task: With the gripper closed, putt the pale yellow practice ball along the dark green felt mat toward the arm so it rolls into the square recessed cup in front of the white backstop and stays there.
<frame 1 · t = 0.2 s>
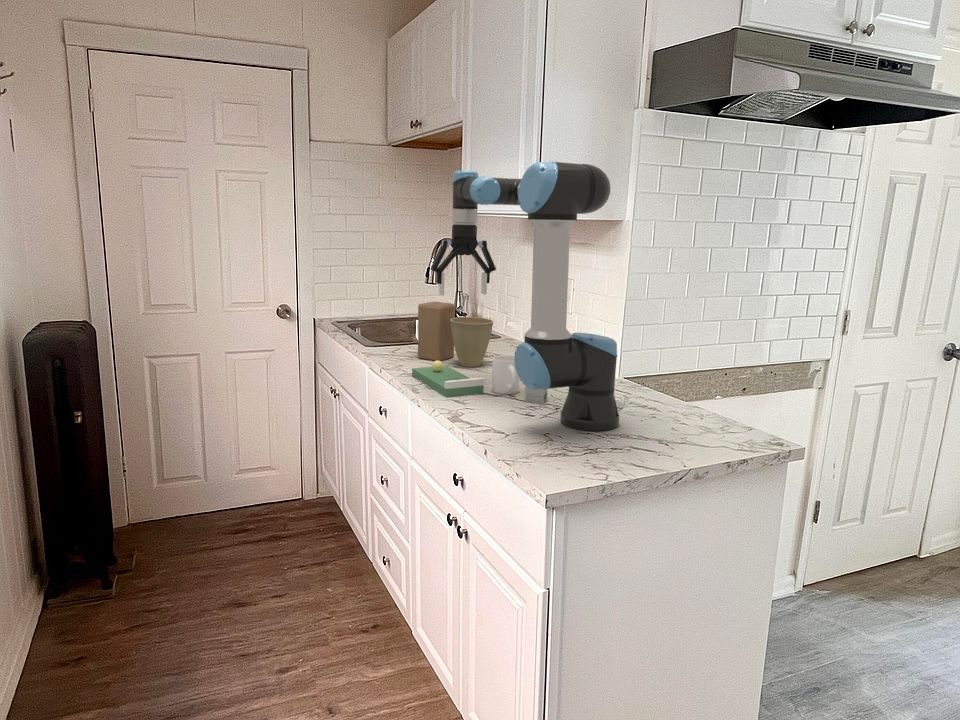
hand: (462, 294, 213), 28 cm above the worktop, fingers open, 13 cm apart
small box: (535, 401, 201), on the worktop
plant pot: (470, 365, 244), on the worktop
ball: (437, 366, 222), point 4 cm above the worktop, touching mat
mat: (446, 384, 217), on the worktop
mug: (507, 393, 208), on the worktop
wooden block: (436, 358, 254), on the worktop
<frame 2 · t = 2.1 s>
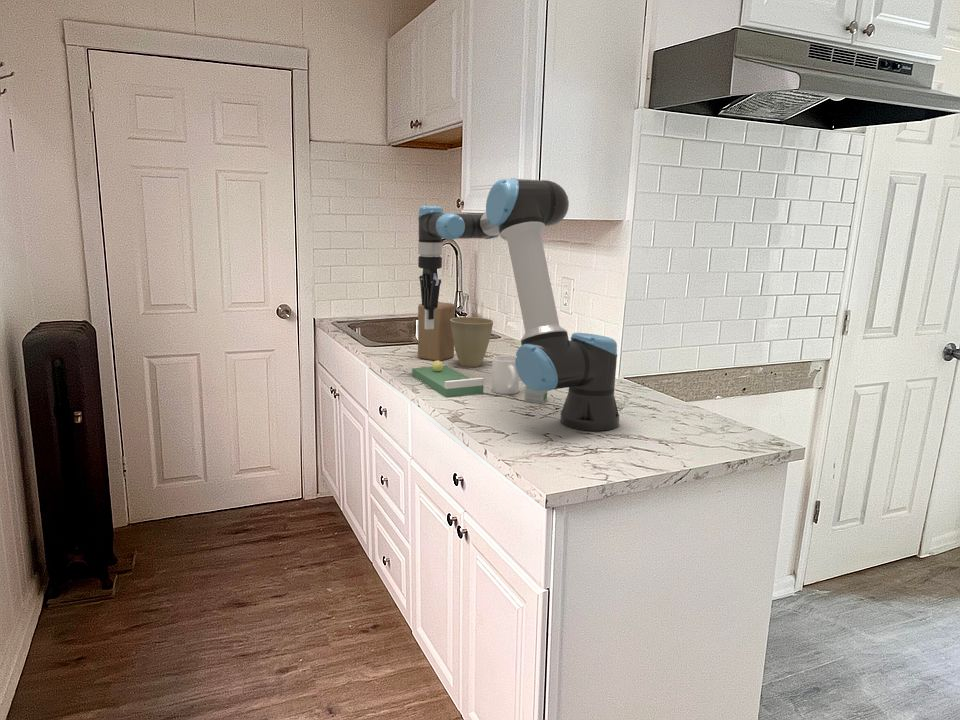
hand: (429, 328, 226), 15 cm above the worktop, fingers closed
nothing on the worktop moved.
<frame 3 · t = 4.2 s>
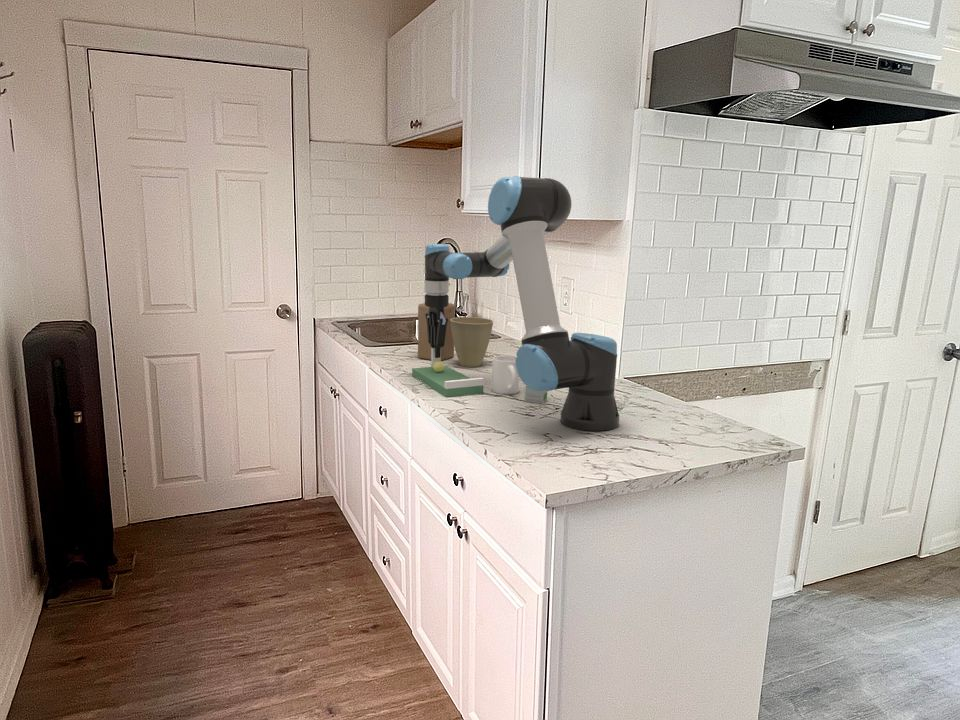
hand: (435, 367, 223), 4 cm above the worktop, fingers closed
ball: (438, 366, 221), point 4 cm above the worktop, tilted 30°, touching gripper, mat
everything else where it was.
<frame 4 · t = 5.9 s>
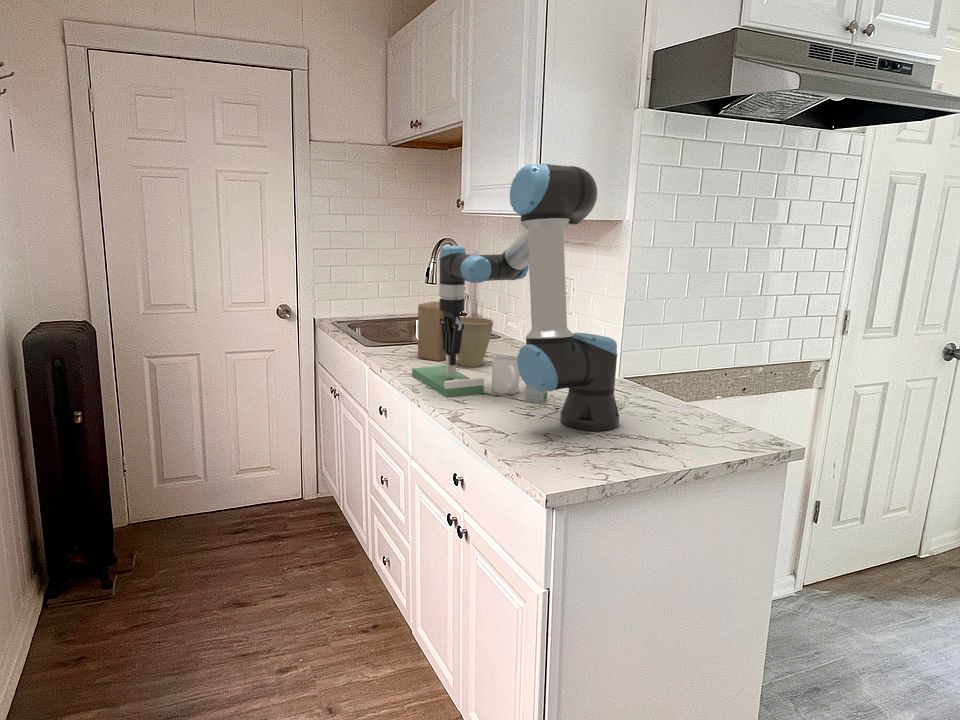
hand: (450, 374, 213), 4 cm above the worktop, fingers closed
ball: (456, 384, 209), point 2 cm above the worktop, tilted 82°
everything else where it was.
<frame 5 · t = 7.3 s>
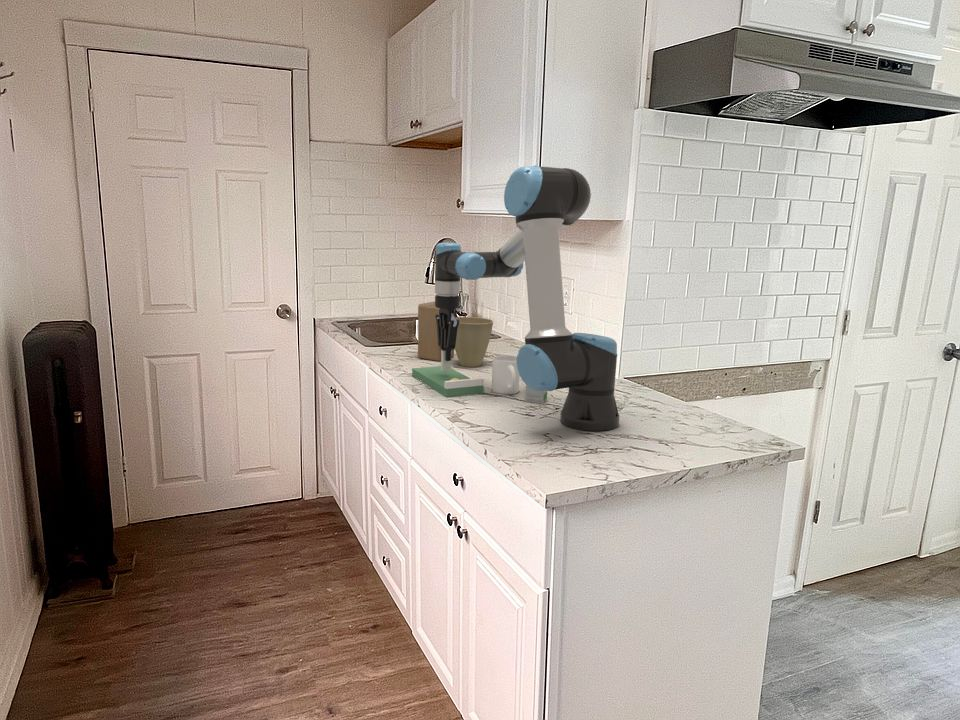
hand: (446, 370, 216), 4 cm above the worktop, fingers closed
ball: (455, 383, 210), point 2 cm above the worktop, tilted 50°
everything else where it was.
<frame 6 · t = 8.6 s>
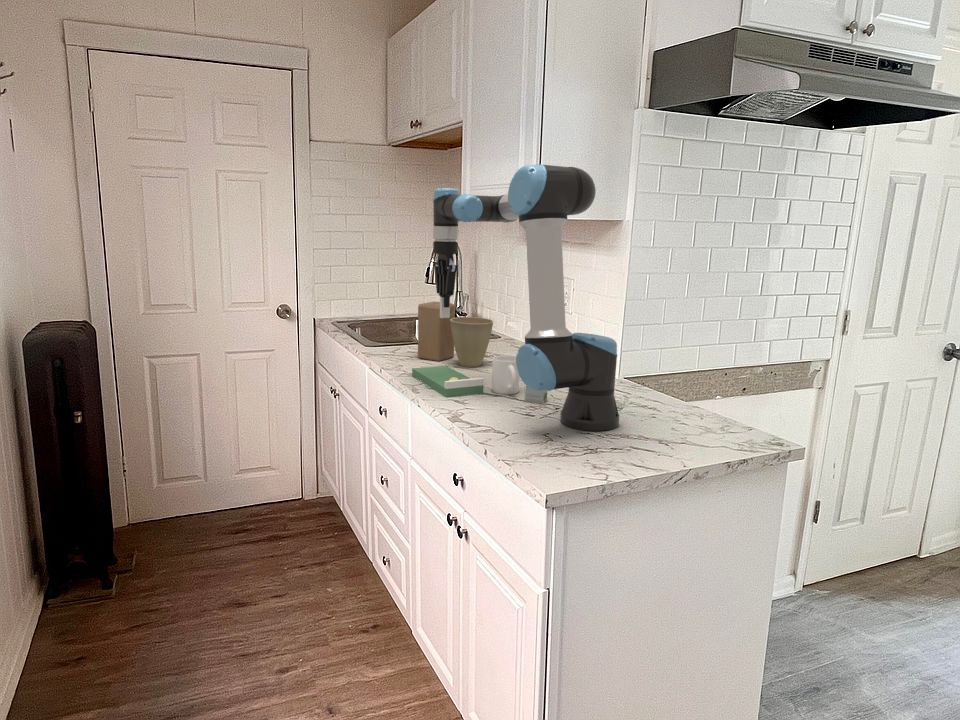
hand: (444, 317, 216), 20 cm above the worktop, fingers closed
ball: (454, 383, 211), point 2 cm above the worktop, tilted 27°
everything else where it was.
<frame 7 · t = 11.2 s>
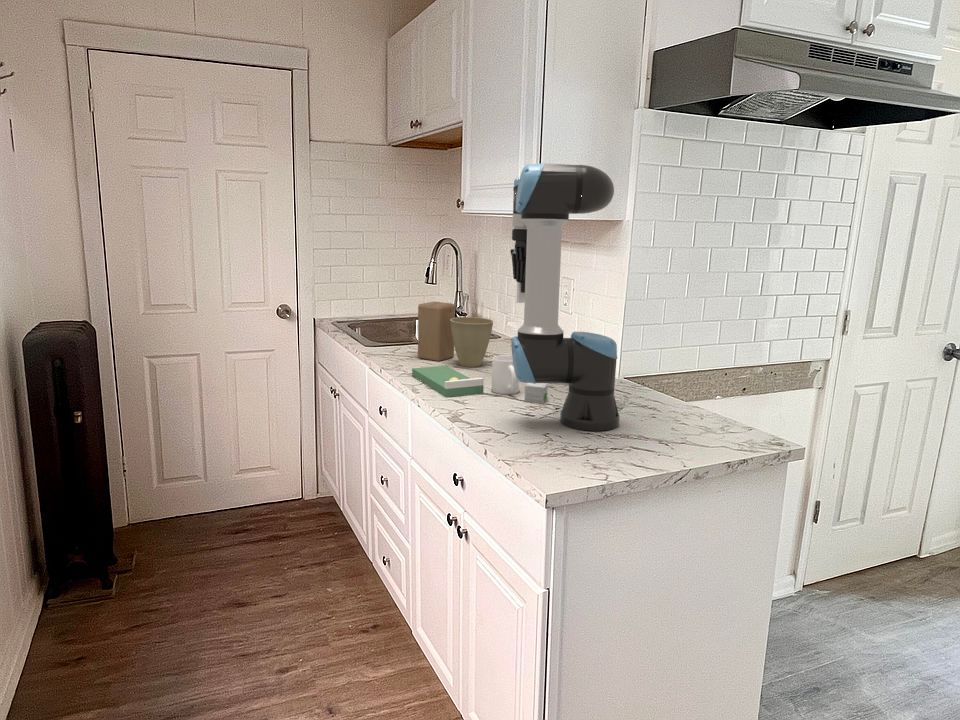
hand: (521, 302, 225), 24 cm above the worktop, fingers closed
nothing on the worktop moved.
at the end: ball 0.9 cm from the target spot on the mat, point 1.8 cm above the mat's base; ball moved 13.4 cm from its start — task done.
